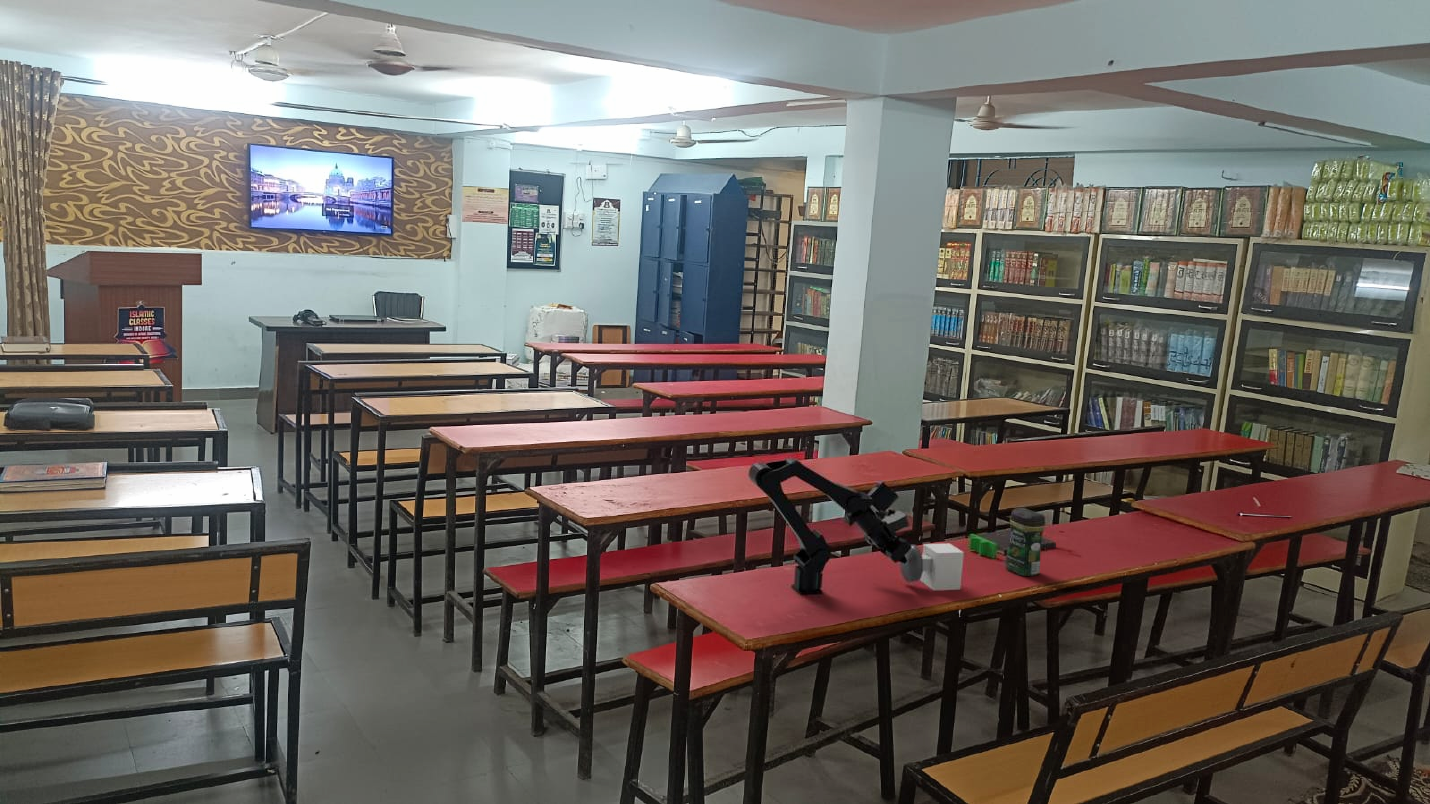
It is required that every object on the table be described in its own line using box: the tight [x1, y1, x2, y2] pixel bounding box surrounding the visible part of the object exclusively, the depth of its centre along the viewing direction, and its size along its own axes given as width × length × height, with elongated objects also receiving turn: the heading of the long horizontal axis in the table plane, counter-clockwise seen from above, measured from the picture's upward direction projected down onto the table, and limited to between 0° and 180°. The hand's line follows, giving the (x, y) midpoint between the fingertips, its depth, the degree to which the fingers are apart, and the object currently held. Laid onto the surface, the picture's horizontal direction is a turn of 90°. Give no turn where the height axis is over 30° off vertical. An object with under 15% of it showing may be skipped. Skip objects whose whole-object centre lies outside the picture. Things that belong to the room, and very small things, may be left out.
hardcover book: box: [966, 529, 1057, 556], centre depth 313 cm, size 16×23×2 cm
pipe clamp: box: [968, 533, 998, 559], centre depth 302 cm, size 11×4×5 cm, turn 26°
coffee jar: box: [1004, 507, 1046, 577], centre depth 285 cm, size 10×8×19 cm
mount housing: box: [919, 543, 965, 591], centre depth 270 cm, size 8×8×10 cm
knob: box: [899, 544, 933, 583], centre depth 268 cm, size 7×10×10 cm
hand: (905, 562), depth 267 cm, fingers closed
